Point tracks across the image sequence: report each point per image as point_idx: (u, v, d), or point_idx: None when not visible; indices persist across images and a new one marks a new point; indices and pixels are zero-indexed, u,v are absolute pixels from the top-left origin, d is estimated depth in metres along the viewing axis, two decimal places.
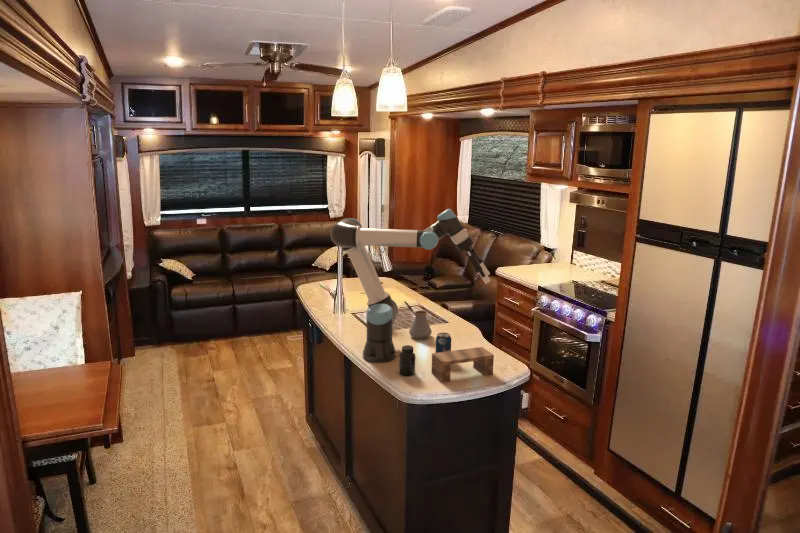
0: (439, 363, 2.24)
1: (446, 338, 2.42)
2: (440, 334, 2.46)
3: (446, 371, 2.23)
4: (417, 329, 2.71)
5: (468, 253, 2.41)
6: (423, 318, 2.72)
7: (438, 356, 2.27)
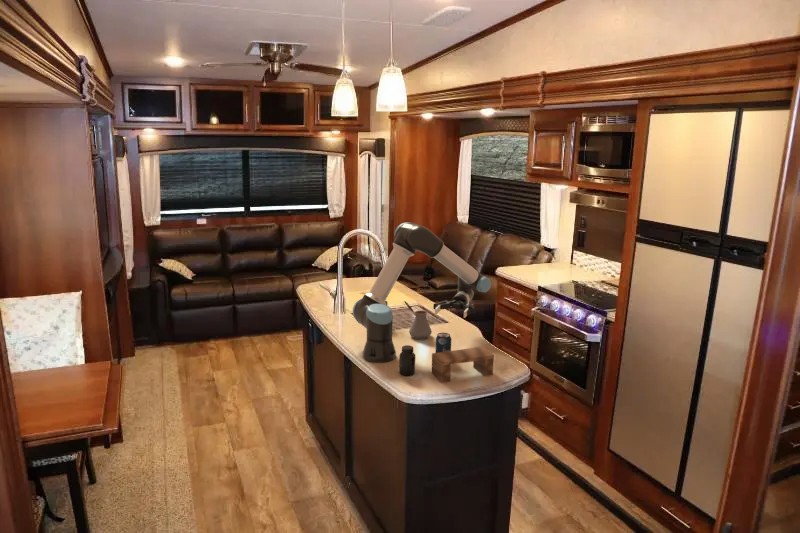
0: (439, 363, 2.24)
1: (446, 338, 2.42)
2: (440, 334, 2.46)
3: (446, 371, 2.23)
4: (417, 329, 2.71)
5: None
6: (423, 318, 2.72)
7: (438, 356, 2.27)
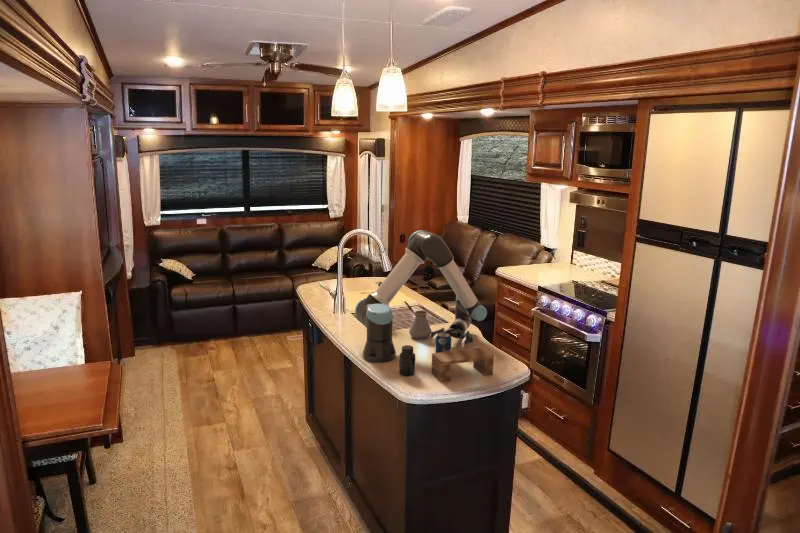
0: (439, 363, 2.24)
1: (446, 338, 2.42)
2: (440, 334, 2.46)
3: (446, 371, 2.23)
4: (417, 329, 2.71)
5: None
6: (423, 318, 2.72)
7: (438, 356, 2.27)
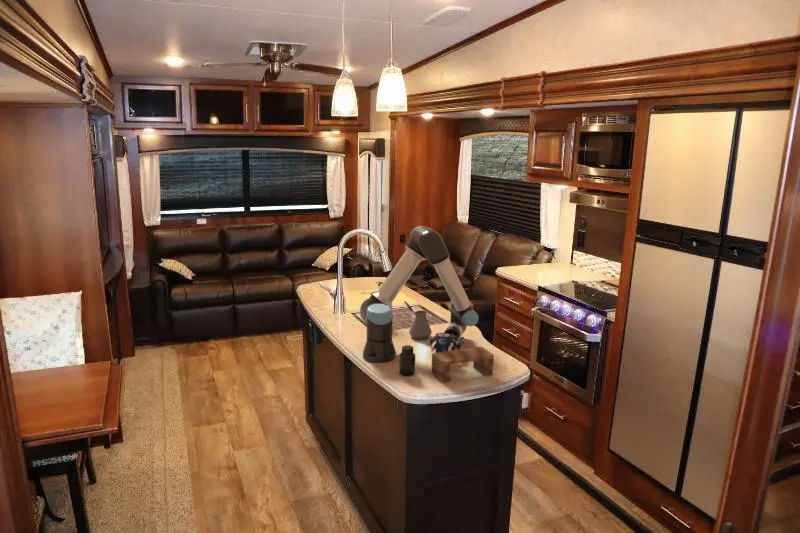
0: (439, 363, 2.24)
1: (446, 338, 2.42)
2: (440, 334, 2.46)
3: (446, 371, 2.23)
4: (417, 329, 2.71)
5: (463, 339, 2.54)
6: (423, 318, 2.72)
7: (438, 356, 2.27)
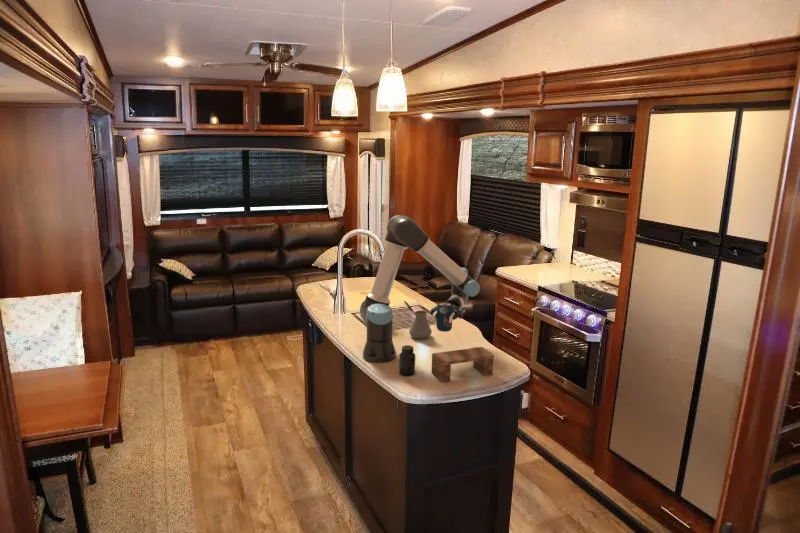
0: (439, 363, 2.24)
1: (447, 307, 2.39)
2: (441, 303, 2.43)
3: (446, 371, 2.23)
4: (417, 329, 2.71)
5: (464, 310, 2.51)
6: (423, 318, 2.72)
7: (438, 356, 2.27)
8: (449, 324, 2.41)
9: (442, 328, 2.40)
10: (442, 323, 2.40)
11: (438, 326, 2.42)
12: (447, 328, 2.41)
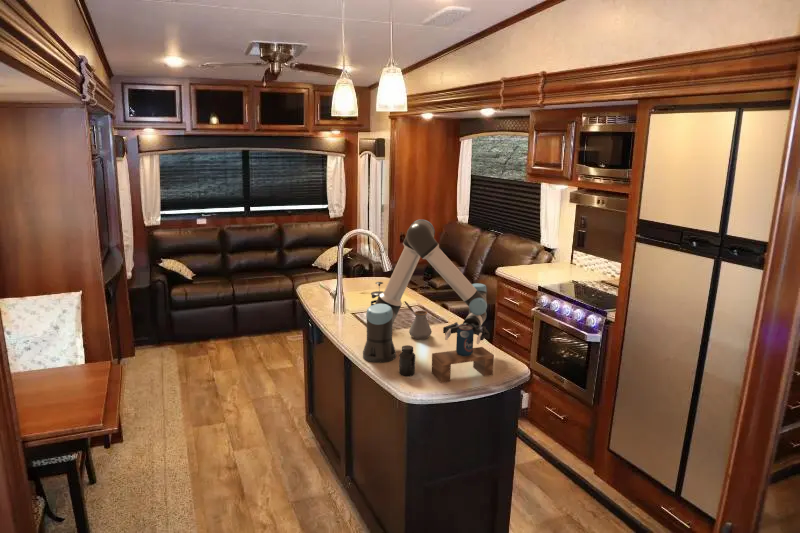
0: (439, 363, 2.24)
1: (468, 331, 2.25)
2: (461, 326, 2.29)
3: (446, 371, 2.23)
4: (417, 329, 2.71)
5: None
6: (423, 318, 2.72)
7: (438, 356, 2.27)
8: (470, 349, 2.27)
9: (462, 353, 2.27)
10: (462, 347, 2.26)
11: (458, 351, 2.28)
12: (468, 353, 2.27)
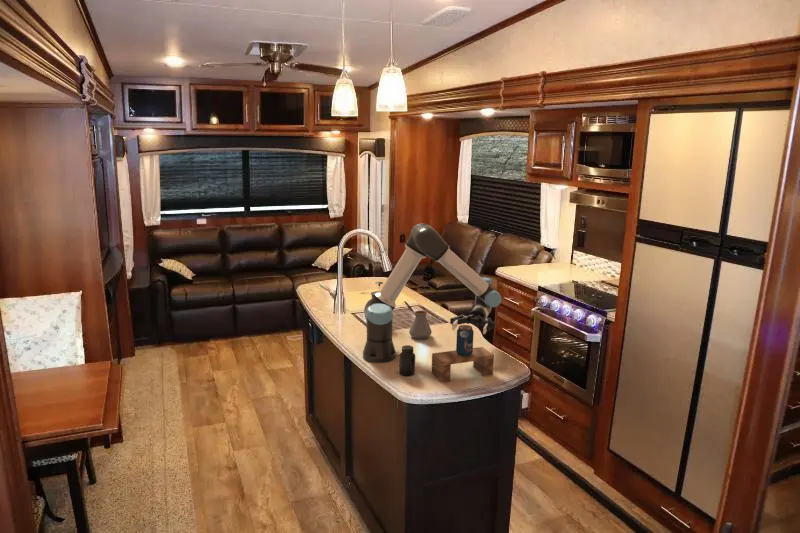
0: (439, 363, 2.24)
1: (468, 331, 2.25)
2: (461, 326, 2.29)
3: (446, 371, 2.23)
4: (417, 329, 2.71)
5: None
6: (423, 318, 2.72)
7: (438, 356, 2.27)
8: (470, 349, 2.27)
9: (462, 353, 2.27)
10: (462, 347, 2.26)
11: (458, 351, 2.28)
12: (468, 353, 2.27)
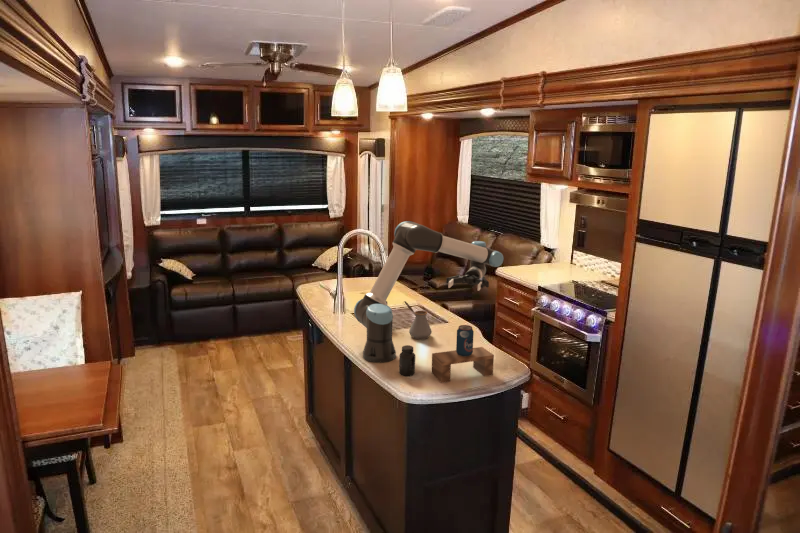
0: (439, 363, 2.24)
1: (468, 331, 2.25)
2: (461, 326, 2.29)
3: (446, 371, 2.23)
4: (417, 329, 2.71)
5: None
6: (423, 318, 2.72)
7: (438, 356, 2.27)
8: (470, 349, 2.27)
9: (462, 353, 2.27)
10: (462, 347, 2.26)
11: (458, 351, 2.28)
12: (468, 353, 2.27)
